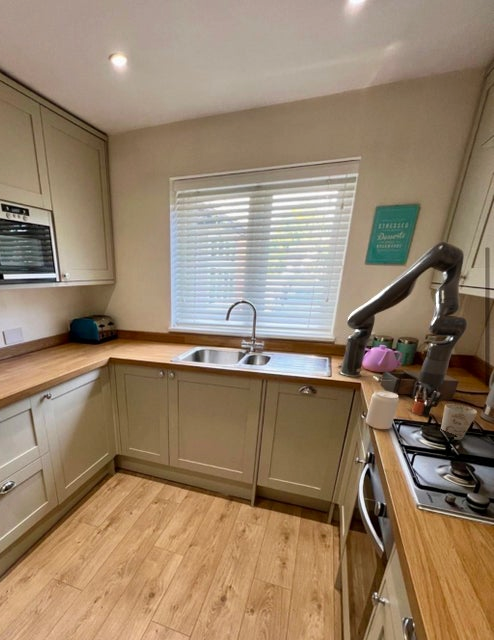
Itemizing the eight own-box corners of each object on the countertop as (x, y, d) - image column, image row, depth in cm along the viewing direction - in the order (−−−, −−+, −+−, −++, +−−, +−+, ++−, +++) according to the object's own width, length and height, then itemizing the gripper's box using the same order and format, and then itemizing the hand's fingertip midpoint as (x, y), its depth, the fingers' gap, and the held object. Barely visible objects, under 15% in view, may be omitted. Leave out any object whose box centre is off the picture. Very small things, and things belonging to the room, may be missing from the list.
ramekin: (408, 409, 132) (412, 398, 131) (423, 410, 132) (427, 399, 130) (416, 415, 127) (420, 403, 125) (431, 416, 127) (435, 404, 125)
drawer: (378, 393, 146) (382, 378, 144) (367, 384, 158) (370, 370, 155) (428, 396, 144) (433, 381, 142) (413, 387, 156) (417, 372, 153)
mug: (433, 435, 112) (443, 408, 108) (440, 424, 120) (449, 398, 116) (464, 444, 106) (475, 416, 103) (470, 432, 114) (480, 405, 111)
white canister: (390, 424, 119) (399, 392, 115) (390, 432, 113) (400, 400, 108) (365, 418, 123) (373, 388, 118) (364, 426, 116) (372, 395, 112)
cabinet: (413, 398, 145) (418, 378, 141) (397, 387, 157) (403, 369, 154) (452, 400, 143) (459, 380, 140) (433, 389, 156) (439, 371, 152)
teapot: (360, 374, 177) (366, 348, 172) (353, 363, 196) (358, 340, 191) (406, 378, 171) (414, 352, 166) (394, 367, 191) (401, 344, 186)
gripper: (457, 376, 116) (441, 420, 122) (433, 365, 129) (420, 405, 136) (434, 375, 117) (420, 418, 123) (412, 364, 130) (401, 404, 136)
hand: (420, 411), depth 129 cm, fingers closed on ramekin, 5 cm apart
